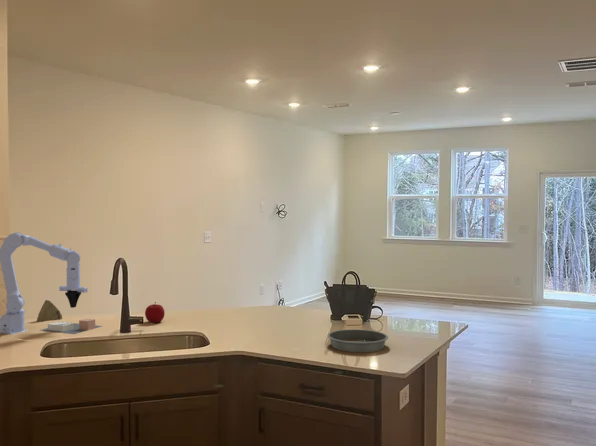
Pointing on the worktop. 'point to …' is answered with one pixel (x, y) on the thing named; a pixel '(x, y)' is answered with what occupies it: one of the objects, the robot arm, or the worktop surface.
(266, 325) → the worktop surface
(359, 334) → the cake pan
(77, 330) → the mat
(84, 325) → the stub
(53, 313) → the rock
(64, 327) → the white flat block
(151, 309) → the apple
